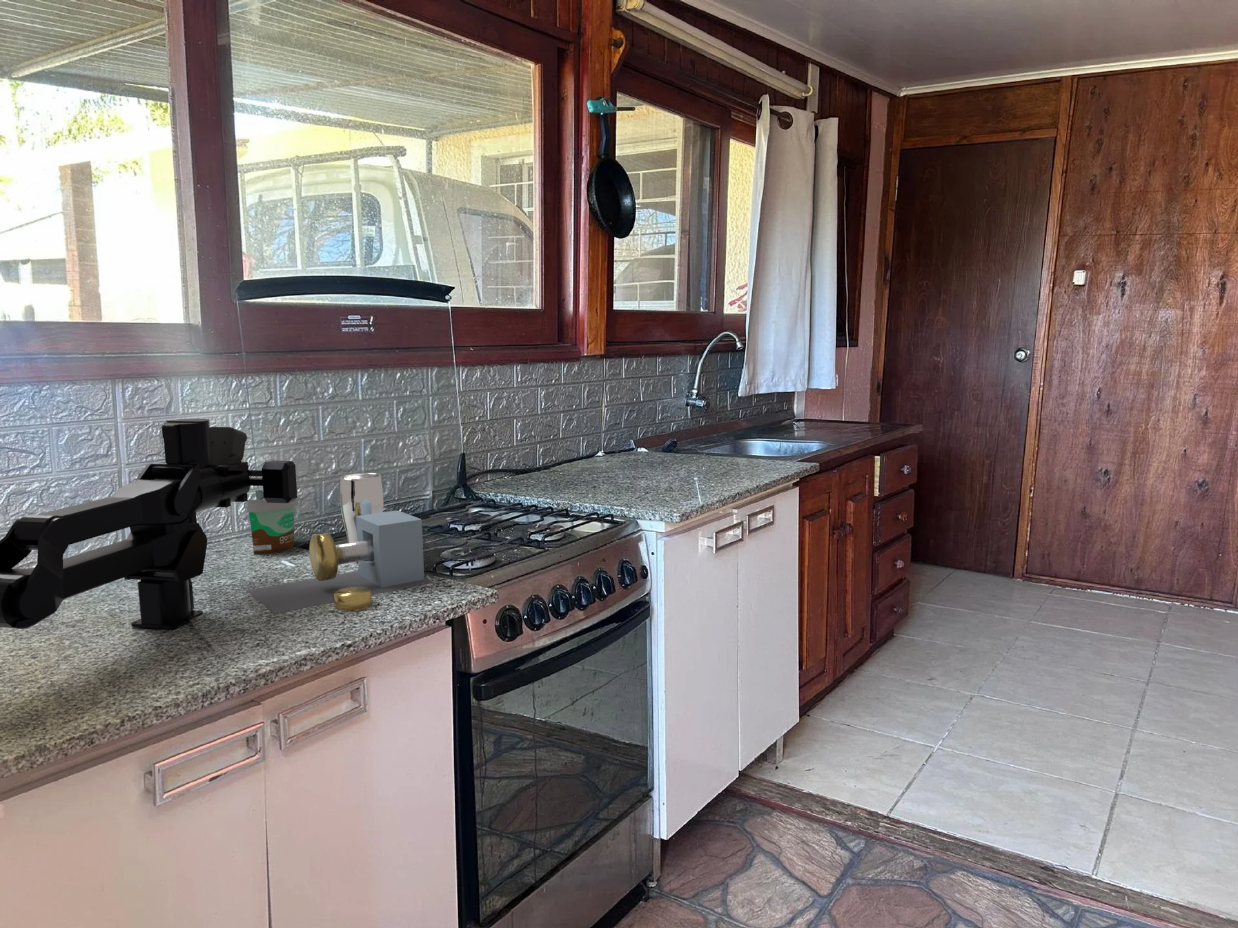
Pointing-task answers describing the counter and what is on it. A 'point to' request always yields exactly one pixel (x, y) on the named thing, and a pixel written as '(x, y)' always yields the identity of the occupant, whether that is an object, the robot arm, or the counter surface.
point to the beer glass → (359, 500)
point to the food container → (271, 525)
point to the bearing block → (392, 548)
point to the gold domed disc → (352, 598)
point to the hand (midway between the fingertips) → (268, 472)
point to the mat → (317, 591)
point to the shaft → (336, 555)
